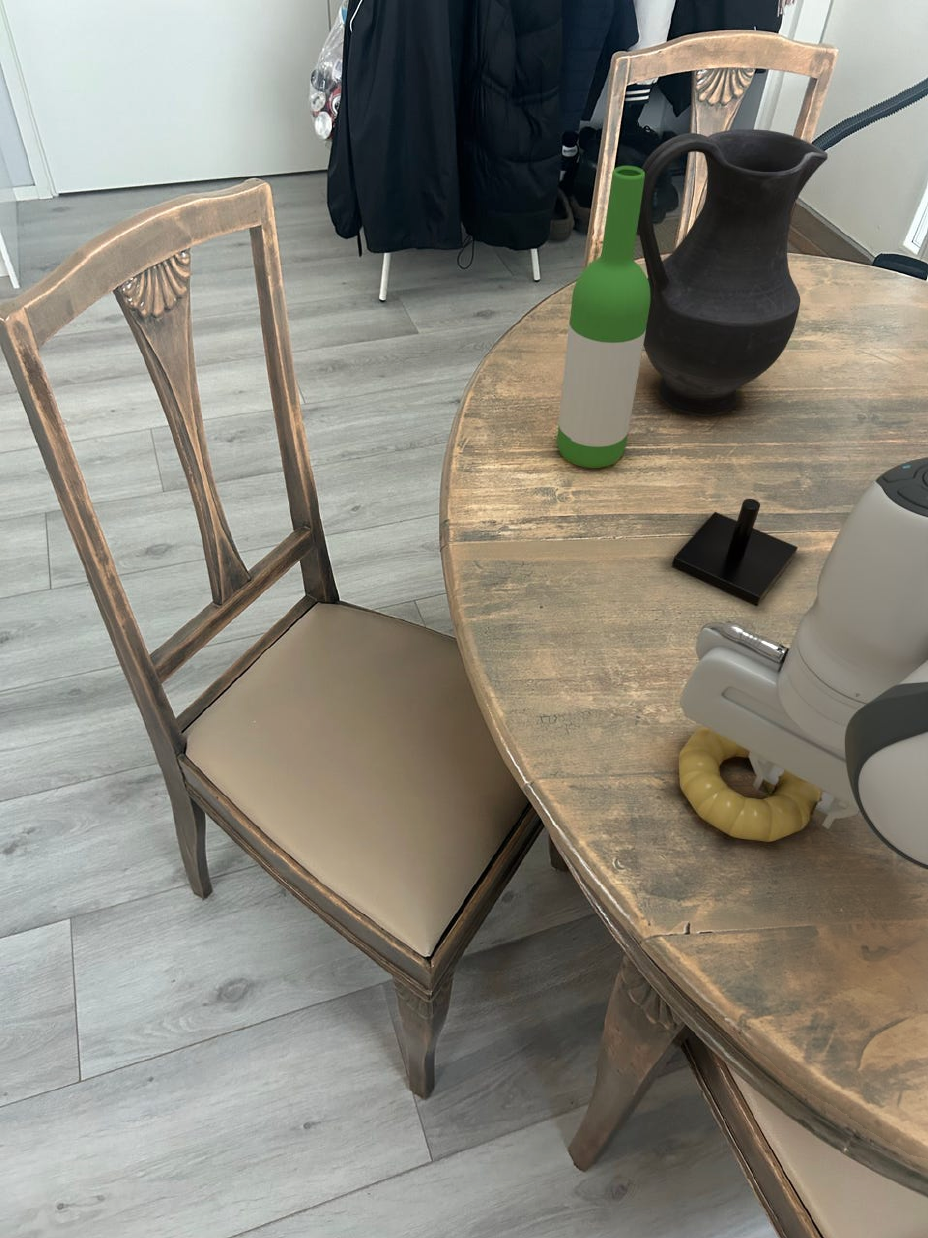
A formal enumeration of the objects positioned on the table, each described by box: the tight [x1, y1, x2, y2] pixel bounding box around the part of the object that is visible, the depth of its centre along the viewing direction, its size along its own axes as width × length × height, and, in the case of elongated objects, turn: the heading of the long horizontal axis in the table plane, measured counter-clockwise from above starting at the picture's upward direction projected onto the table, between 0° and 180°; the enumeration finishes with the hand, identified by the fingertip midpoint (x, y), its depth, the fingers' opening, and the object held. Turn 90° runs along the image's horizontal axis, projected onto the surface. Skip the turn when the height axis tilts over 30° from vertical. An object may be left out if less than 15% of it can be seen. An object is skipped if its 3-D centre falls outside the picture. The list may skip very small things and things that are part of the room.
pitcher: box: [637, 128, 828, 417], centre depth 97 cm, size 17×21×30 cm
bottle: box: [556, 165, 650, 469], centre depth 89 cm, size 8×8×30 cm
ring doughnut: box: [678, 725, 821, 843], centre depth 67 cm, size 10×10×3 cm
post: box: [671, 498, 798, 606], centre depth 84 cm, size 9×9×7 cm
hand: (793, 801), depth 66 cm, fingers closed on ring doughnut, 3 cm apart
